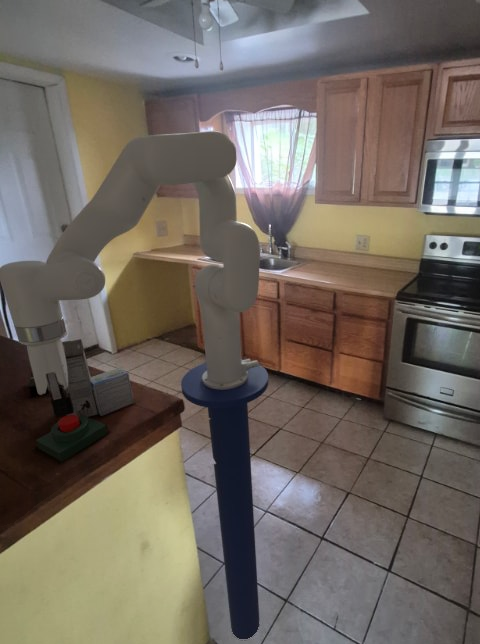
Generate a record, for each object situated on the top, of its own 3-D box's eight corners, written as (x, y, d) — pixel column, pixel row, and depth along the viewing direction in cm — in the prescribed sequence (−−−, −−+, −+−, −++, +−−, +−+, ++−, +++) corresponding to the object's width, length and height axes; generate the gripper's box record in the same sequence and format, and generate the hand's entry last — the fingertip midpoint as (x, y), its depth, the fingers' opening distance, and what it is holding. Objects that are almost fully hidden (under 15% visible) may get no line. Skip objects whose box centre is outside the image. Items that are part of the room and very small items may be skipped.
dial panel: (71, 373, 105) (69, 363, 103) (73, 387, 98) (70, 377, 96) (33, 381, 100) (30, 371, 99) (32, 397, 93) (28, 386, 92)
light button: (73, 419, 79) (71, 412, 78) (83, 424, 77) (81, 417, 77) (56, 428, 76) (53, 421, 75) (66, 434, 74) (64, 427, 74)
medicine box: (127, 396, 94) (121, 366, 90) (135, 403, 91) (128, 372, 88) (94, 409, 89) (86, 377, 85) (101, 417, 86) (93, 384, 82)
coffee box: (66, 403, 91) (49, 343, 84) (96, 396, 94) (81, 337, 87) (67, 422, 83) (48, 359, 77) (99, 414, 86) (83, 352, 80)
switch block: (84, 422, 84) (80, 407, 82) (107, 433, 80) (104, 418, 79) (38, 448, 76) (33, 432, 74) (62, 462, 72) (57, 445, 71)
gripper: (19, 320, 72) (44, 400, 79) (12, 349, 60) (41, 440, 67) (64, 314, 76) (83, 391, 83) (66, 340, 64) (88, 427, 71)
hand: (64, 413), depth 75 cm, fingers closed
